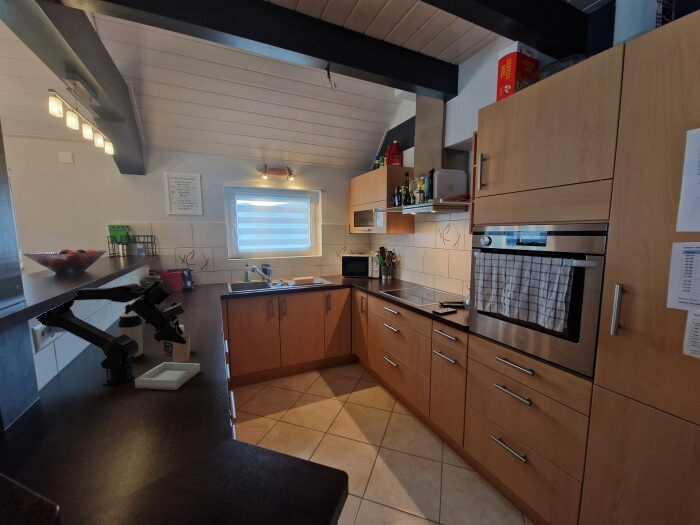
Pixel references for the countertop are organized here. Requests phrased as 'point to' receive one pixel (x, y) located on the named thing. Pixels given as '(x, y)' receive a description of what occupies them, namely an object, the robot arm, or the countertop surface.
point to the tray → (167, 375)
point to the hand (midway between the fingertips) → (185, 340)
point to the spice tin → (182, 349)
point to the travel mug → (131, 328)
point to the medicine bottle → (170, 344)
